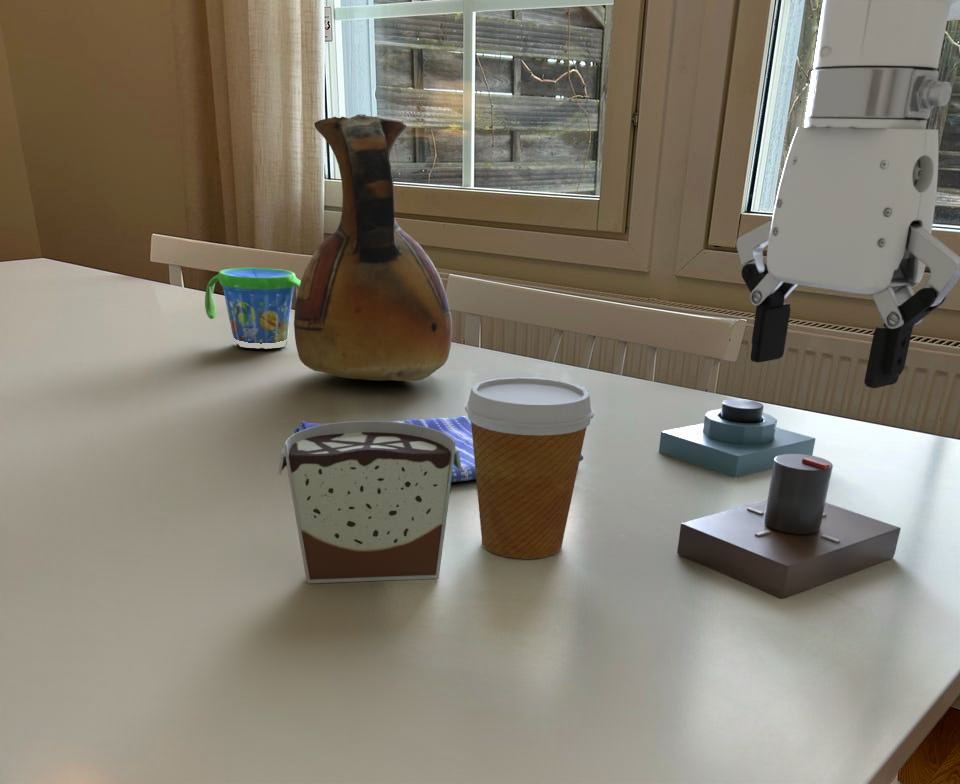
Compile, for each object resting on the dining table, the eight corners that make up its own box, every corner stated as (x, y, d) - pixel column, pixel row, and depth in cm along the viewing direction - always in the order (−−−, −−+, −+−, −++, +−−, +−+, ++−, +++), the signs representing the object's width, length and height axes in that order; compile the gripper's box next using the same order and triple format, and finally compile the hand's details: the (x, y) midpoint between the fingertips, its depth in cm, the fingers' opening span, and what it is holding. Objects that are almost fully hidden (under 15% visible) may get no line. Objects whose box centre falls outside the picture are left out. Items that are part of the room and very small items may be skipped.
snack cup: (327, 344, 145) (324, 271, 140) (294, 358, 136) (289, 280, 131) (232, 335, 149) (226, 264, 144) (194, 348, 140) (187, 272, 135)
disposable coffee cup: (436, 540, 77) (438, 386, 72) (522, 514, 83) (529, 370, 77) (521, 578, 71) (531, 413, 65) (607, 548, 77) (623, 394, 71)
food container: (447, 545, 76) (449, 417, 72) (459, 577, 71) (462, 441, 66) (285, 551, 74) (277, 419, 70) (285, 584, 69) (276, 444, 64)
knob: (752, 521, 76) (763, 454, 73) (786, 511, 78) (798, 446, 76) (796, 538, 73) (810, 469, 70) (831, 528, 75) (845, 460, 73)
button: (737, 414, 101) (740, 397, 101) (769, 423, 99) (772, 405, 98) (711, 419, 99) (714, 401, 98) (743, 428, 96) (746, 410, 96)
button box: (734, 436, 107) (740, 399, 105) (811, 459, 100) (819, 420, 98) (658, 452, 101) (663, 413, 99) (735, 478, 94) (741, 437, 92)
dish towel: (290, 447, 98) (288, 419, 97) (500, 425, 108) (501, 399, 106) (350, 501, 84) (349, 469, 83) (584, 470, 94) (586, 441, 93)
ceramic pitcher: (431, 361, 137) (433, 118, 123) (469, 396, 120) (477, 117, 106) (288, 365, 132) (274, 111, 118) (307, 401, 115) (293, 110, 101)
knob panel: (788, 519, 84) (794, 489, 83) (893, 557, 77) (901, 525, 76) (676, 553, 76) (681, 521, 75) (782, 599, 69) (788, 564, 68)
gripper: (1030, 104, 59) (961, 388, 67) (792, 105, 71) (757, 346, 79) (966, 101, 55) (900, 404, 63) (724, 102, 67) (695, 357, 75)
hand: (820, 371), depth 71 cm, fingers open, 9 cm apart
